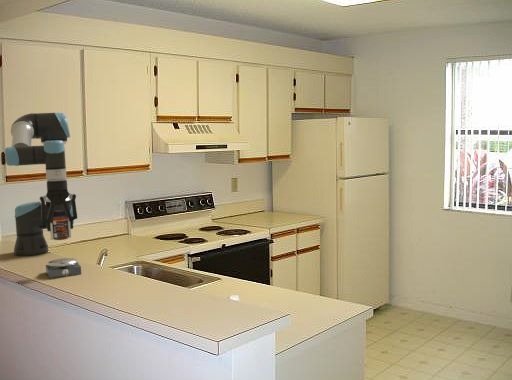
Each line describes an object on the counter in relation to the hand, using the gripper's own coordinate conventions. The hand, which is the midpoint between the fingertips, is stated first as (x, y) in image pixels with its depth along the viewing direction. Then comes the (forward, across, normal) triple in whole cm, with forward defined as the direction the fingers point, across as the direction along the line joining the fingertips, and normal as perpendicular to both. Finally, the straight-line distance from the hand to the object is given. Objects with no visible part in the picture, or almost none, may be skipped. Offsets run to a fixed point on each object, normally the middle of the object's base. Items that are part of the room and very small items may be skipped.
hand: (61, 238), depth 228 cm
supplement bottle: (+1, 0, 0) cm, 1 cm away
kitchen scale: (+14, 0, 0) cm, 14 cm away
